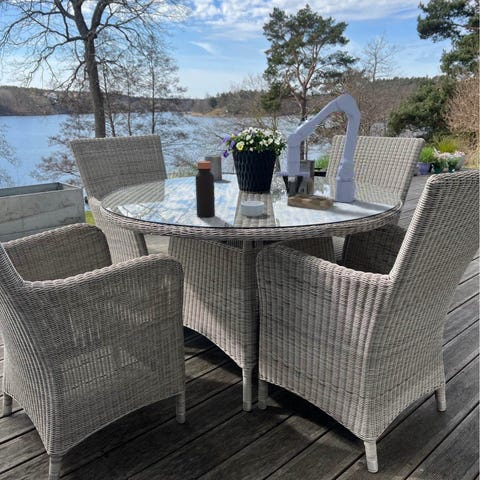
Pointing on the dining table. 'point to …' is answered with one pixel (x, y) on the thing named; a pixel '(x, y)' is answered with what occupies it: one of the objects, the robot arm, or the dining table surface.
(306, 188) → the coffee box
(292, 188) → the grey rounded cylinder
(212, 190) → the bottle
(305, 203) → the socket block
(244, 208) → the ramekin
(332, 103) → the robot arm
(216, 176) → the pillar candle
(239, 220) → the dining table surface
